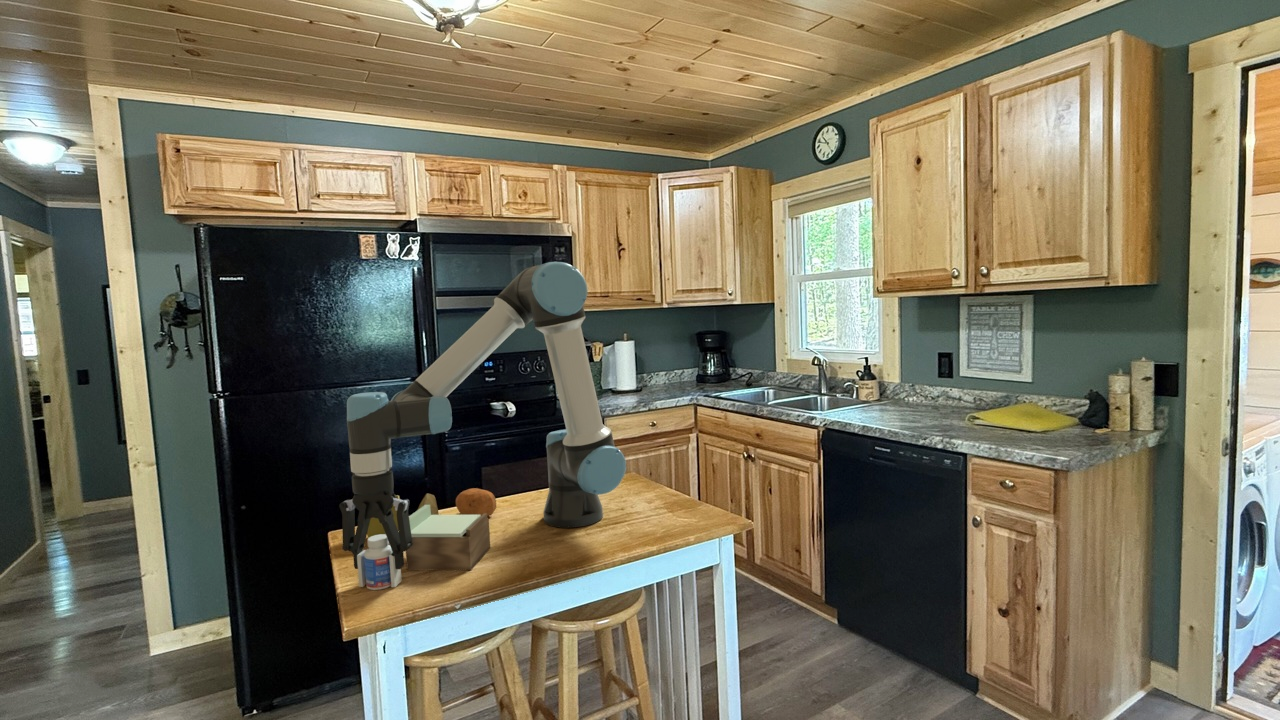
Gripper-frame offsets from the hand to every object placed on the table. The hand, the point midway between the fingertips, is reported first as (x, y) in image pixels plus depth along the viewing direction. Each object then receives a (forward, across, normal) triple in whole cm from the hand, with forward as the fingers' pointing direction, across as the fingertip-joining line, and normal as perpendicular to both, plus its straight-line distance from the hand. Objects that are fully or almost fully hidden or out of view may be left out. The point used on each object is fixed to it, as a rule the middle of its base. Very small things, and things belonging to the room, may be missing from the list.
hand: (380, 583), depth 126 cm
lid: (-7, -8, -13) cm, 17 cm away
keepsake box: (0, -9, -13) cm, 16 cm away
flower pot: (0, +13, -25) cm, 28 cm away
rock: (0, +3, -26) cm, 26 cm away
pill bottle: (0, 0, 0) cm, 1 cm away
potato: (0, -4, -41) cm, 41 cm away
